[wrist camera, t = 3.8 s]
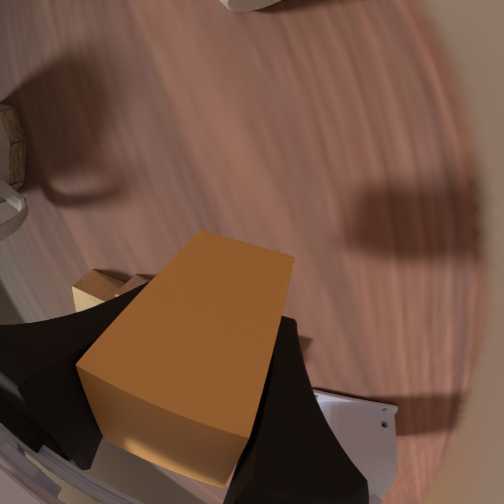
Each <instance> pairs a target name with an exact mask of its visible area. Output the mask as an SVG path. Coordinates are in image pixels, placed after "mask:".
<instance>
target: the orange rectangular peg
mask: <svg viewBox="0 0 504 504" xmlns="http://www.w3.org/2000/svg"><path fill="white" fill-rule="evenodd" d="M294 259H295V257H292V256H289V255H286V254H282V253H279V252H275V251H272V250H269V249H265V248H262V247H258V246H255V245H251V244H248V243H244V242H241V241H238V240H234V239H231V238H227V237H224V236H220V235H217V234H213V233H210V232H206V231H203V230H200V231H199V232H198V233H197V234H196V235H195V236H194V237H193V238H192V239H191V240H190V241H189V242H188V243H187V244H186V245H185V246H184V247H183V248H182V249H181V250H180V251H179V252H178V253H177V254H176V255H175V256H174V258H173V259H172V260H171V261H170V262H169V263H168V264H167V265H166V266H165V267H164V268H163V269H162V270H161V271H160V272H159V273H158V274H157V275H156V276H155V277H154V278H153V279H152V280H151V281H150V282H149V283H148V285H147V286H146V287H145V288H144V289H143V290H142V291H141V292H140V293H139V294H138V295H137V296H136V297H135V298H134V299H133V301H132V302H131V303H130V304H129V305H128V306H127V307H126V308H125V309H124V310H123V311H122V312H121V314H120V315H119V316H118V317H117V318H116V319H115V320H114V321H113V322H112V323H111V325H110V326H109V327H108V328H107V329H106V330H105V331H104V332H103V334H102V335H101V336H100V337H99V338H98V339H97V340H96V341H95V343H94V344H93V345H92V346H91V347H90V348H89V349H88V351H87V352H86V353H85V354H84V355H83V356H82V358H81V359H80V360H79V361H78V362H77V363H76V368H77V371H78V374H79V377H80V380H81V383H82V386H83V389H84V391H85V394H86V397H87V399H88V402H89V405H90V407H91V410H92V412H93V415H94V417H95V419H96V422H97V424H98V426H99V429H100V431H101V433H102V435H103V438H104V439H105V440H107V441H109V442H111V443H113V444H115V445H116V446H118V447H121V448H122V449H125V450H126V451H128V452H131V453H133V454H135V455H137V456H139V457H141V458H143V459H145V460H148V461H150V462H152V463H155V464H157V465H159V466H162V467H164V468H167V469H169V470H172V471H174V472H177V473H179V474H182V475H185V476H188V477H190V478H193V479H196V480H199V481H202V482H205V483H208V484H211V485H215V486H218V487H221V488H223V487H224V486H225V484H226V482H227V480H228V478H229V476H230V475H231V473H232V471H233V469H234V467H235V465H236V463H237V461H238V459H239V457H240V456H241V454H242V452H243V450H244V448H245V446H246V444H247V442H248V440H249V438H250V434H251V431H252V427H253V424H254V420H255V416H256V413H257V409H258V406H259V402H260V398H261V395H262V391H263V387H264V383H265V380H266V376H267V372H268V368H269V364H270V360H271V356H272V353H273V349H274V345H275V341H276V336H277V332H278V328H279V324H280V320H281V316H282V312H283V307H284V303H285V299H286V295H287V290H288V286H289V281H290V277H291V272H292V268H293V263H294Z"/></svg>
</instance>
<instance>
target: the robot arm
mask: <svg viewBox="0 0 504 504" xmlns="http://www.w3.org/2000/svg"><path fill="white" fill-rule="evenodd" d="M150 281H151V280H150ZM150 281H148V282H146V283H144V284H142V285H140V286H138V287H136V288H134V289H132V290H130V291H128V292H126V293H124V294H122V295H119V296H117V297H115V298H113V299H110V300H108V301H106V302H103V303H101V304H99V305H96V306H94V307H91V308H88V309H86V310H83V311H80V312H76V313H73V314H70V315H66V316H62V317H58V318H54V319H49V320H45V321H39V322H33V323H25V324H15V325H0V504H65V503H63V502H62V501H60V500H59V499H58V498H57V496H58V494H59V493H60V491H61V487H60V486H59V485H58V484H56V483H55V482H54V481H52V480H51V479H50V478H49V477H48V476H47V475H45V474H44V473H43V472H42V471H41V470H40V469H39V468H38V467H37V466H36V465H35V464H33V463H32V462H31V461H30V460H29V459H27V458H26V457H25V453H24V451H25V452H26V453H27V454H28V455H30V456H31V457H32V458H33V459H35V460H36V461H37V462H38V463H40V464H41V465H43V466H44V467H45V468H47V469H48V470H49V471H51V472H52V473H54V474H55V475H57V476H58V477H59V478H61V479H62V480H64V481H65V482H67V483H68V484H70V485H71V486H73V487H74V488H76V489H78V490H79V491H81V492H83V493H84V494H86V495H88V496H89V497H91V498H93V499H94V500H96V501H98V502H100V503H102V504H146V503H143V502H141V501H139V500H137V499H135V498H132V497H130V496H128V495H126V494H124V493H122V492H120V491H118V490H116V489H114V488H112V487H110V486H109V485H107V484H105V483H103V482H101V481H99V480H98V479H96V478H94V477H92V476H91V475H89V474H87V473H86V472H84V471H82V470H88V469H90V468H91V465H92V462H93V459H94V457H95V454H96V451H97V449H98V447H99V444H100V442H101V439H102V437H103V435H102V433H101V431H100V429H99V426H98V424H97V422H96V419H95V417H94V415H93V412H92V410H91V407H90V405H89V402H88V399H87V397H86V394H85V391H84V389H83V386H82V383H81V380H80V377H79V374H78V371H77V368H76V363H77V362H78V361H79V360H80V359H81V358H82V356H83V355H84V354H85V353H86V352H87V351H88V349H89V348H90V347H91V346H92V345H93V344H94V343H95V341H96V340H97V339H98V338H99V337H100V336H101V335H102V334H103V332H104V331H105V330H106V329H107V328H108V327H109V326H110V325H111V323H112V322H113V321H114V320H115V319H116V318H117V317H118V316H119V315H120V314H121V312H122V311H123V310H124V309H125V308H126V307H127V306H128V305H129V304H130V303H131V302H132V301H133V299H134V298H135V297H136V296H137V295H138V294H139V293H140V292H141V291H142V290H143V289H144V288H145V287H146V286H147V285H148V283H149V282H150ZM397 411H398V406H396V405H391V404H384V403H378V402H372V401H367V400H361V399H356V398H351V397H346V396H341V395H336V394H332V393H327V392H323V391H318V390H314V389H312V386H311V383H310V380H309V377H308V374H307V371H306V368H305V364H304V360H303V356H302V353H301V348H300V343H299V338H298V332H297V322H296V321H295V319H292V318H288V317H285V316H281V320H280V324H279V328H278V332H277V336H276V341H275V345H274V349H273V353H272V356H271V360H270V364H269V368H268V372H267V376H266V380H265V383H264V387H263V391H262V395H261V398H260V402H259V406H258V409H257V413H256V416H255V420H254V424H253V427H252V431H251V434H250V438H249V440H248V442H247V444H246V446H245V448H244V450H243V452H242V454H241V456H240V457H239V459H238V462H237V465H236V468H235V471H234V474H233V477H232V480H231V482H230V485H229V488H228V491H227V494H226V496H225V499H224V502H223V504H382V499H380V498H381V497H382V496H384V495H385V494H386V493H387V492H388V490H389V489H390V488H391V486H392V484H393V482H394V479H395V476H396V472H397V464H398V458H397V442H396V429H395V418H394V414H395V413H396V412H397Z"/></svg>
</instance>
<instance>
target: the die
mask: <svg viewBox="0 0 504 504" xmlns="http://www.w3.org/2000/svg"><path fill="white" fill-rule="evenodd" d="M220 1H221V2H222V3H223V4H224V5H225V7H226V8H228V9H229V10H232V11H239V12H246V11H253V10H257V9H261V8H264V7H267V6H270V5H272V4H275V3H277V2H279V1H281V0H220Z"/></svg>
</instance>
